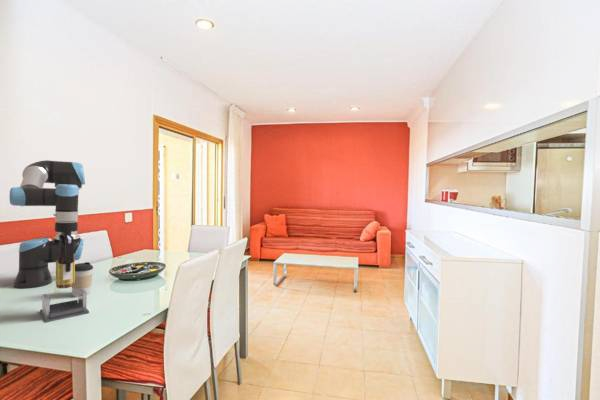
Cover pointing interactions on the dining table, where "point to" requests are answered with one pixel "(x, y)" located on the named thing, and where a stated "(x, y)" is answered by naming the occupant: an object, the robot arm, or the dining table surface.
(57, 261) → the sauce bottle
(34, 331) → the dining table surface
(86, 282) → the coffee cup
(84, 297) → the clip holder
